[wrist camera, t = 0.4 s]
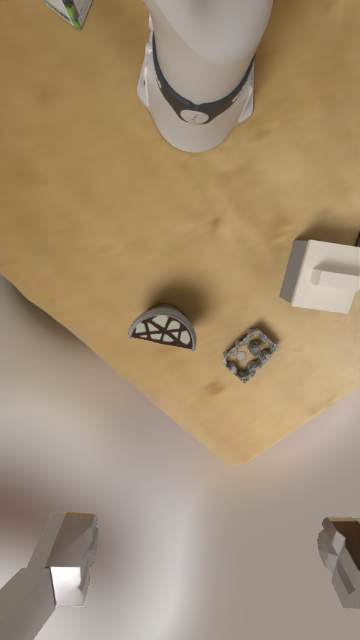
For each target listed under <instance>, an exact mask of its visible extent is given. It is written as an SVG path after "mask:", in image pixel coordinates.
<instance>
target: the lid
mask: <svg viewBox="0 0 360 640" xmlns="http://www.w3.org/2000/svg"><path fill="white" fill-rule="evenodd" d="M359 289H360V247H354V246H348V245H341V244H335V243H328V242H322V241H316V240H308V244H307V247H306V251H305V254H304V258H303V262H302V265H301V269H300V272H299V276H298V279H297V283H296V287H295V290H294V294H293V297H292V301H291V306H295V307H302V308H310V309H317V310H324V311H331V312H339V313H346V314H348V312H349V309H350V306H351V303H352V300H353V298H354V295H355V292H356V291H359Z"/></svg>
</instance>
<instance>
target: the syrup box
mask: <svg viewBox="0 0 360 640" xmlns="http://www.w3.org/2000/svg"><path fill="white" fill-rule="evenodd" d="M44 1H45V2H46V4H47V6H49V7H50V8H51V9H52V10H54V11H55V12H56V13H57V14H59V15H60V16H61V17H62V18H64V19H65V20H66V21H68V22H69V23H70V24H72V25H73V26H74V27H76V28H77V29H78V30H81V28H82V25H83V23H84V20H85V18H86V15H87V13H88V10H89V8H90V5H91V3H92V0H44Z"/></svg>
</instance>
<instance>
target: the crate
mask: <svg viewBox="0 0 360 640" xmlns="http://www.w3.org/2000/svg"><path fill="white" fill-rule="evenodd" d="M307 244H308V241H299V240H294V243H293V246H292V250H291V254H290V258H289V262H288V265H287V269H286V273H285V277H284V281H283V284H282V288H281V292H280V296H279V297H281V298H283V299H284V300H286V301H288V302H289V303H291V301H292V297H293V294H294V290H295V287H296V283H297V279H298V276H299V272H300V269H301V265H302V262H303V258H304V254H305V251H306V247H307Z"/></svg>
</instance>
